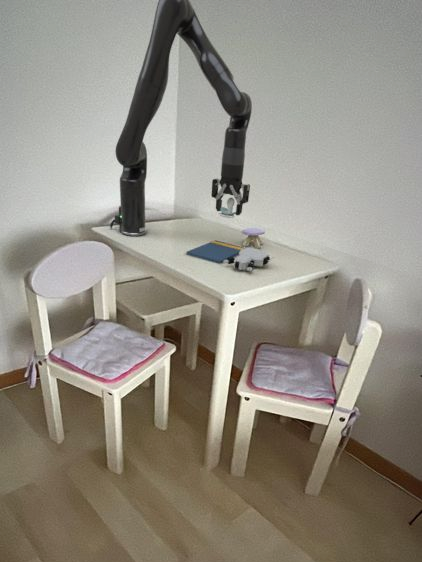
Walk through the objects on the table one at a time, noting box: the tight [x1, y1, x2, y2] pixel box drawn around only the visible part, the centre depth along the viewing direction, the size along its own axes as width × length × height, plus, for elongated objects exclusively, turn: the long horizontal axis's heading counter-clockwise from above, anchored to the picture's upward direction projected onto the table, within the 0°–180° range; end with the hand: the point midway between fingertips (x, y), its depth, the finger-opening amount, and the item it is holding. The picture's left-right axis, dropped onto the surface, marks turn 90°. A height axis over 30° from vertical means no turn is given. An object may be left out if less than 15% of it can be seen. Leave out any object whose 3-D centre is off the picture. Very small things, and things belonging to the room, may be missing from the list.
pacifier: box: [218, 197, 236, 219], centre depth 152 cm, size 7×6×6 cm
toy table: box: [241, 227, 266, 249], centre depth 166 cm, size 10×9×6 cm
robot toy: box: [222, 246, 275, 272], centre depth 144 cm, size 12×4×15 cm
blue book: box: [186, 240, 245, 264], centre depth 156 cm, size 14×20×1 cm
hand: (228, 212), depth 153 cm, fingers closed on pacifier, 7 cm apart
